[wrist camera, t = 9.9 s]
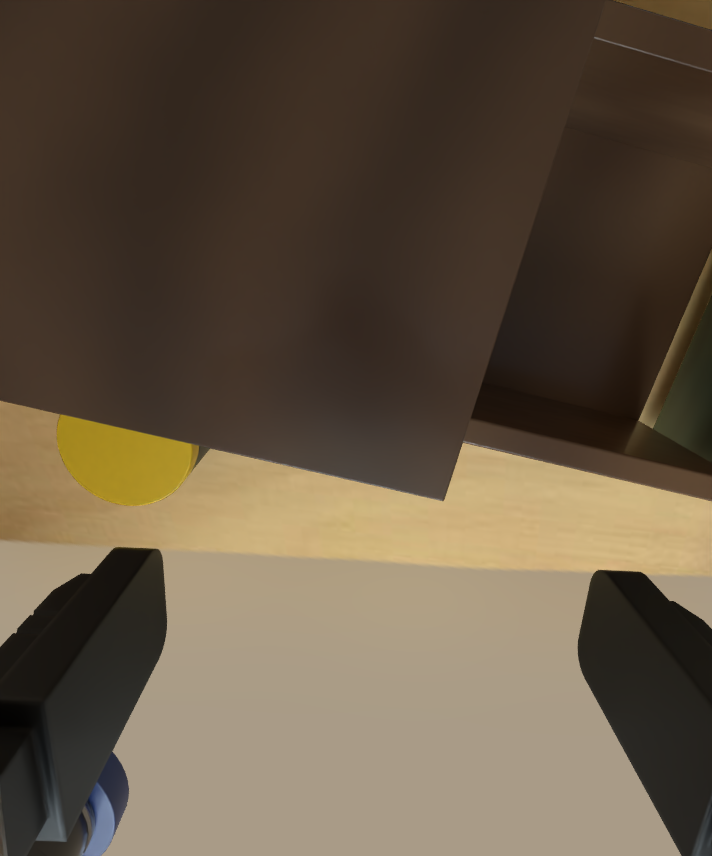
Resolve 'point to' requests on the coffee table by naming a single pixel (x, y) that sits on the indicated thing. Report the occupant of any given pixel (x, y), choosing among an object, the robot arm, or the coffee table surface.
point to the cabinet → (275, 216)
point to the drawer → (616, 271)
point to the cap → (124, 461)
